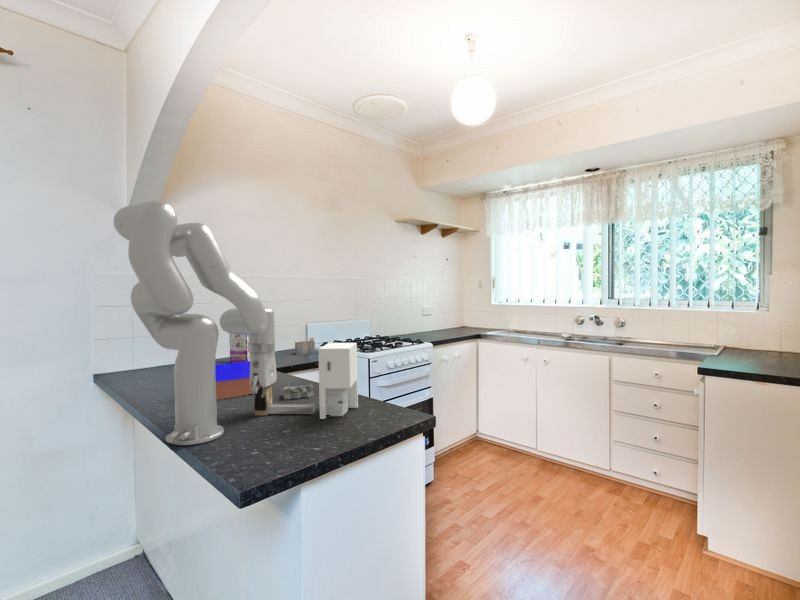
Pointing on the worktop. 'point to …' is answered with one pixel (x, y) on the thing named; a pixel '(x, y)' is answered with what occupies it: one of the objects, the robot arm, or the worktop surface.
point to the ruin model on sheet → (305, 347)
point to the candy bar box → (239, 348)
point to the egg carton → (298, 391)
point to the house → (233, 379)
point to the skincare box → (336, 401)
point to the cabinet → (338, 372)
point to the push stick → (283, 406)
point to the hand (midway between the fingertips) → (263, 407)
